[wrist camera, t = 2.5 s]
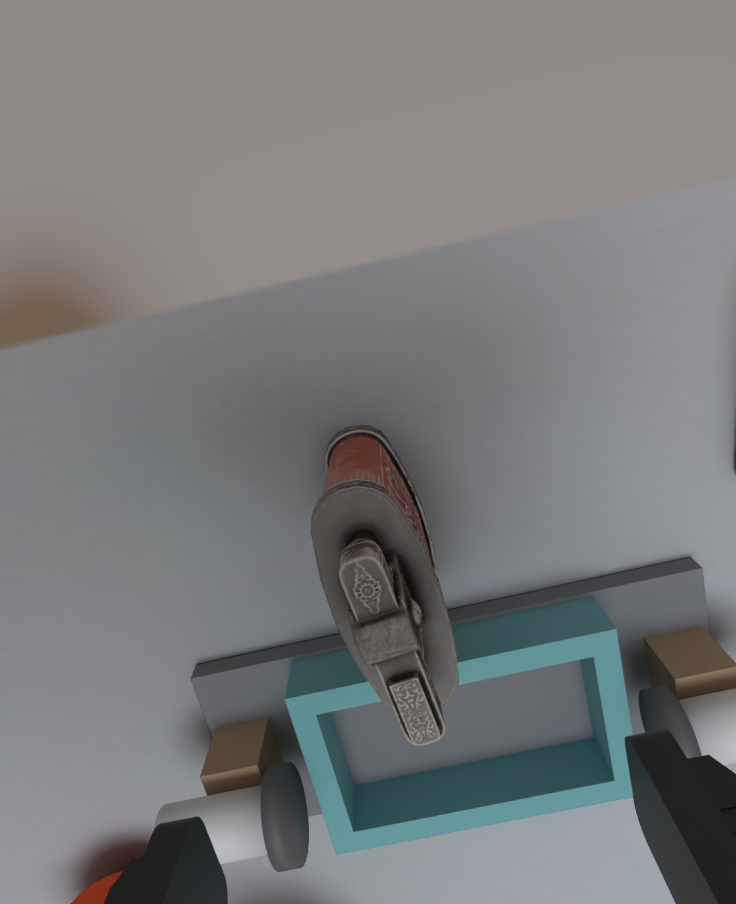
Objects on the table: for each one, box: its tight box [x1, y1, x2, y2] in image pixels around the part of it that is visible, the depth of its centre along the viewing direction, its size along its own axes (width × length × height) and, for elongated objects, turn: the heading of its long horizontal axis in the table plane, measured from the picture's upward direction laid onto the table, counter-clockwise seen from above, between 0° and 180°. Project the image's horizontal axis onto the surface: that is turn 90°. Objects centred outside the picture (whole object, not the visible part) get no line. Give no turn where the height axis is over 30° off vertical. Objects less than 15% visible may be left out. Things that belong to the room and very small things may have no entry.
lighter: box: [311, 425, 459, 746], centre depth 22 cm, size 8×3×10 cm, turn 20°
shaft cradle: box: [154, 557, 736, 872], centre depth 26 cm, size 24×8×7 cm, turn 104°
